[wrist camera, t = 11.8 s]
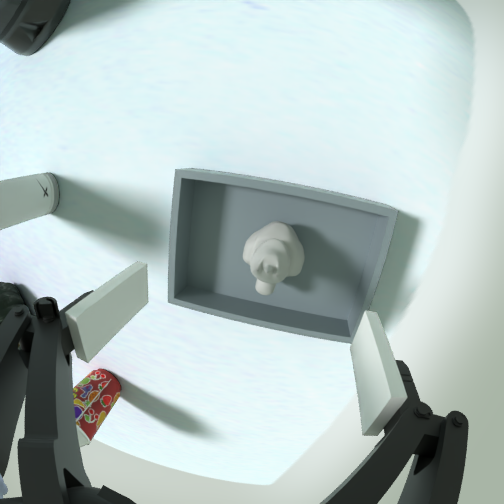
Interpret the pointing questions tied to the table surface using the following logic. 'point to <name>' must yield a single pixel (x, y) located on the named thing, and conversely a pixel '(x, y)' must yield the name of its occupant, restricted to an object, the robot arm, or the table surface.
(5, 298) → the squash
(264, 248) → the white animal figurine
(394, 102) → the table surface
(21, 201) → the travel mug
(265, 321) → the bin
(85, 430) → the smoothie
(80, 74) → the table surface
